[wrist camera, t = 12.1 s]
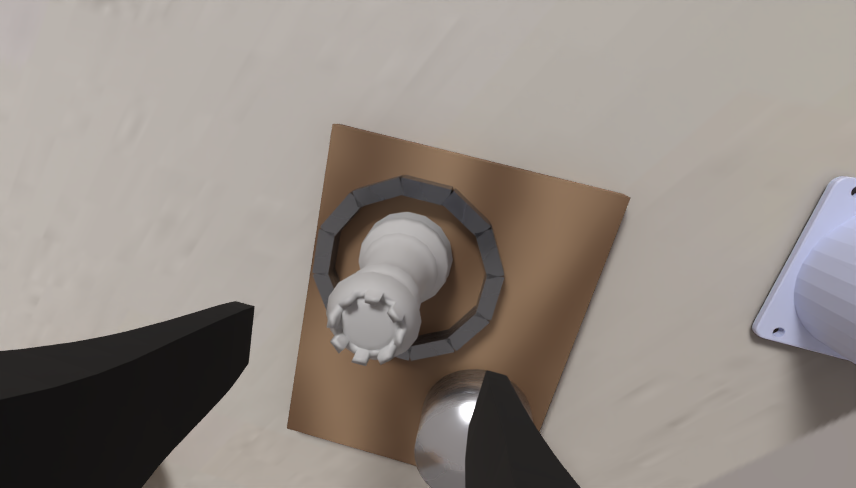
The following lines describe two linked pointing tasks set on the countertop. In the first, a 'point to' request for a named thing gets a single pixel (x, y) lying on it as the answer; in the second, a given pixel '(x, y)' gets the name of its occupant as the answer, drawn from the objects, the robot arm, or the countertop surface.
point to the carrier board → (454, 288)
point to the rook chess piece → (389, 288)
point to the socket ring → (462, 211)
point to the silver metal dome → (449, 427)
